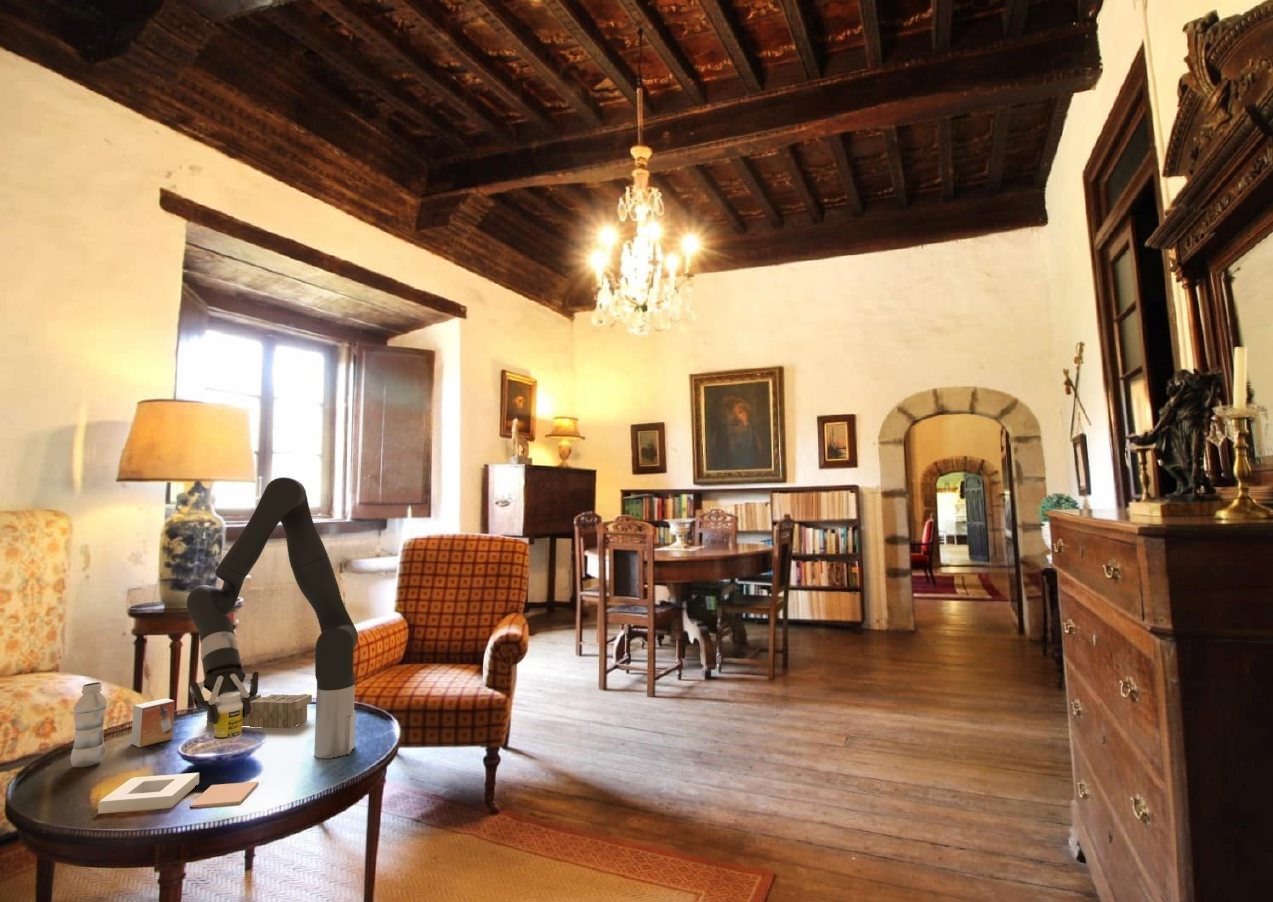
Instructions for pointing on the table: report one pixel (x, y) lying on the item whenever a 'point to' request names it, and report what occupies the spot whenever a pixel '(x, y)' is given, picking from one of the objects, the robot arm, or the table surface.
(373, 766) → the table surface
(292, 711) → the block tower
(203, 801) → the terracotta tile
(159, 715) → the small box
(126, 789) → the block
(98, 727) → the plastic bottle
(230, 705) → the supplement bottle
